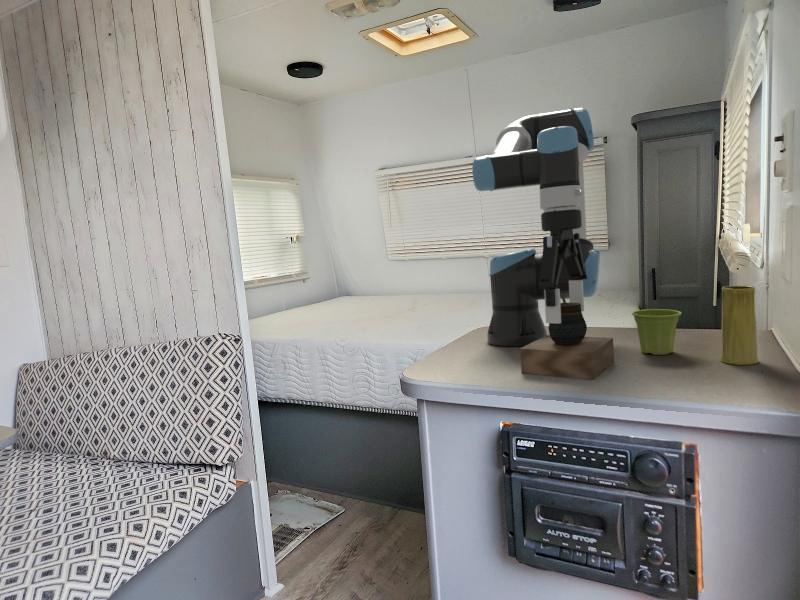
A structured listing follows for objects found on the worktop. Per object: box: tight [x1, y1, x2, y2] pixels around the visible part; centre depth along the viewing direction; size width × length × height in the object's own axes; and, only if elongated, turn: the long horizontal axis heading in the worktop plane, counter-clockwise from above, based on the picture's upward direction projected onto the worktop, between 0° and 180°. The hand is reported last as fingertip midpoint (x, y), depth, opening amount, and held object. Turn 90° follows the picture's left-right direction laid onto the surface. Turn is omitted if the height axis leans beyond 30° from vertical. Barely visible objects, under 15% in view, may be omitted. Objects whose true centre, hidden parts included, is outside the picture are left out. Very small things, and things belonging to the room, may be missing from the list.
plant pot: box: [631, 308, 682, 356], centre depth 111 cm, size 9×9×9 cm
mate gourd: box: [548, 293, 588, 345], centre depth 104 cm, size 7×8×10 cm
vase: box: [719, 285, 759, 366], centre depth 99 cm, size 6×6×14 cm
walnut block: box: [519, 334, 615, 380], centre depth 105 cm, size 14×14×5 cm
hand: (565, 316), depth 104 cm, fingers open, 13 cm apart
